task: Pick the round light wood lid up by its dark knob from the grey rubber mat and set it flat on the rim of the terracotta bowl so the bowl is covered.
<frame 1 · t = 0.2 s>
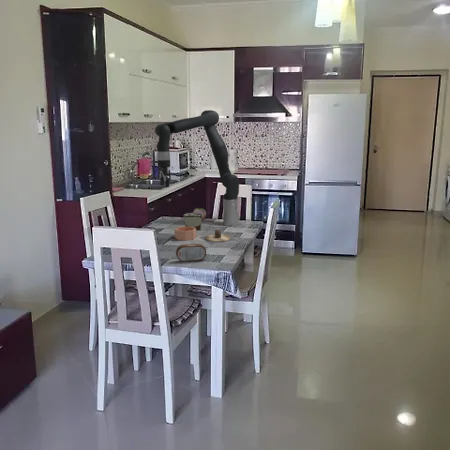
hand: (164, 186, 277), 29 cm above the table, tool pointing down, fingers open, 8 cm apart
mat: (218, 239, 269), on the table
food container: (194, 229, 292), on the table
bowl: (185, 238, 271), on the table
lid: (218, 238, 269), resting on mat
portable speaker: (191, 261, 231), on the table
decorative fruit: (199, 221, 313), on the table
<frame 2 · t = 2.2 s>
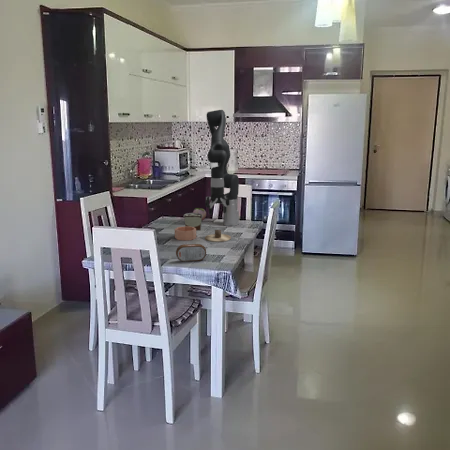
hand: (217, 213, 265), 15 cm above the table, tool pointing down, fingers open, 8 cm apart
nothing on the table moved.
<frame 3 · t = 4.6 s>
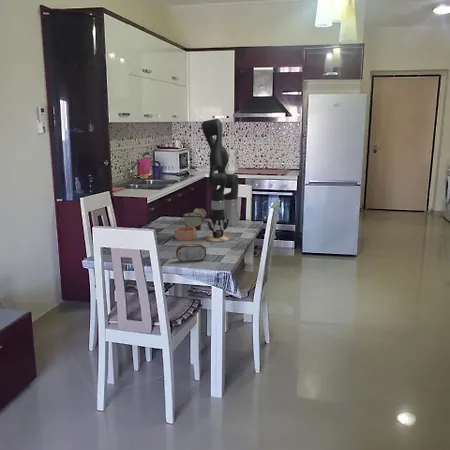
hand: (218, 236, 269), 2 cm above the table, tool pointing down, fingers closed on lid, 3 cm apart
lid: (218, 238, 269), resting on mat, touching gripper
everything else where it was.
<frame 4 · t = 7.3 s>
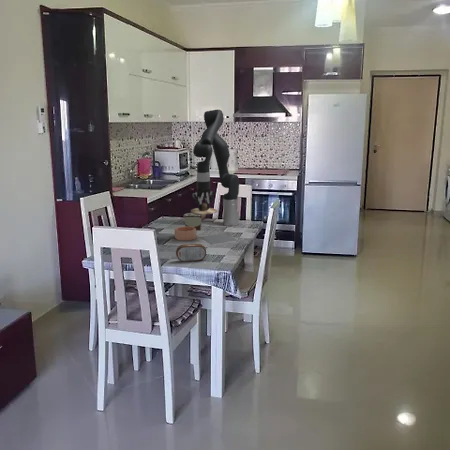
hand: (203, 209, 265), 17 cm above the table, tool pointing down, fingers closed on lid, 3 cm apart
lid: (203, 211, 266), point 16 cm above the table, touching gripper
everything else where it was.
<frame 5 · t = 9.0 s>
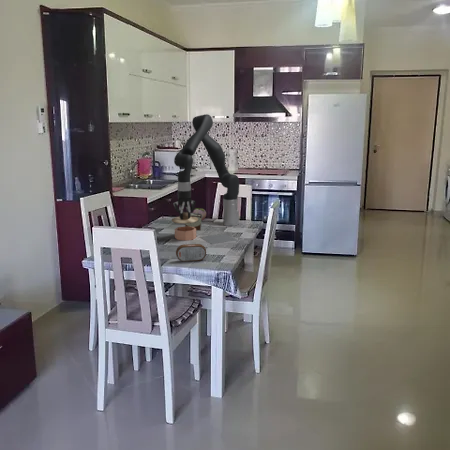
hand: (184, 218, 268), 12 cm above the table, tool pointing down, fingers closed on lid, 3 cm apart
lid: (185, 220, 268), point 11 cm above the table, touching gripper
everything else where it was.
when the fingers open (8 cm above the table, at t = 10.3 s): lid drops 2 cm, resting on bowl.
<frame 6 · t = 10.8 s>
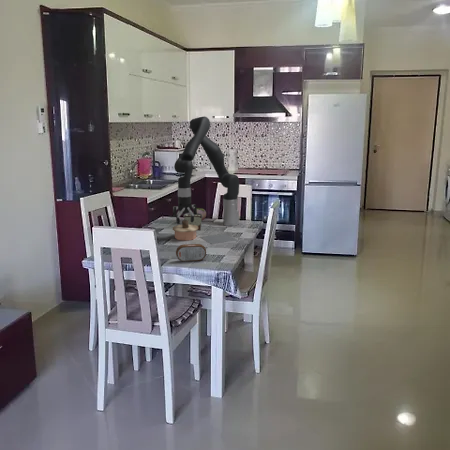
hand: (185, 223, 269), 9 cm above the table, tool pointing down, fingers open, 8 cm apart
bowl: (185, 238, 271), on the table, touching lid
lid: (185, 228, 270), point 6 cm above the table, touching bowl
everything else where it was.
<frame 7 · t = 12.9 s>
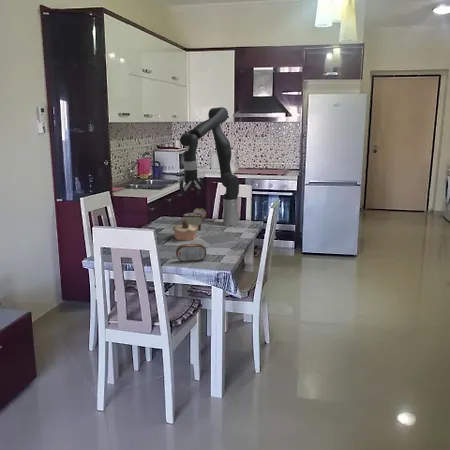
hand: (192, 196, 273), 24 cm above the table, tool pointing down, fingers open, 8 cm apart
nothing on the table moved.
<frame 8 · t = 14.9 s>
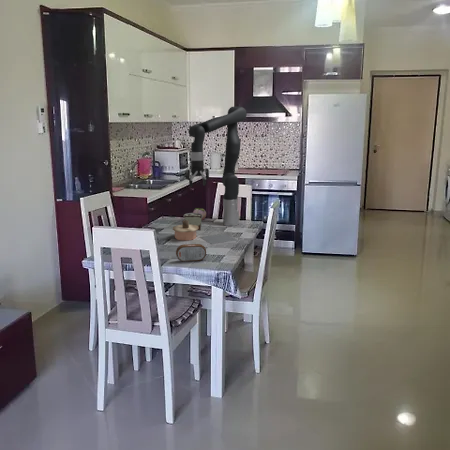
hand: (197, 186, 282), 28 cm above the table, tool pointing down, fingers open, 8 cm apart
nothing on the table moved.
at the end: lid 0.3 cm off-centre on the bowl, point 6.0 cm above the bowl's base; lid tilted 0°; the gripper is holding nothing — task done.
